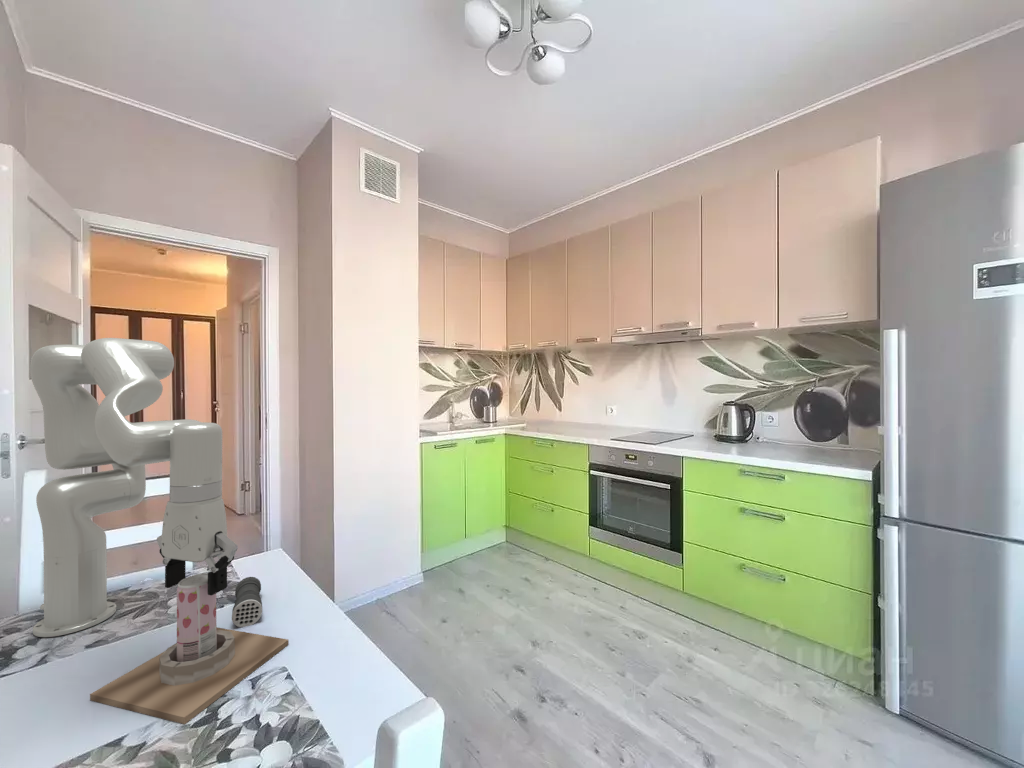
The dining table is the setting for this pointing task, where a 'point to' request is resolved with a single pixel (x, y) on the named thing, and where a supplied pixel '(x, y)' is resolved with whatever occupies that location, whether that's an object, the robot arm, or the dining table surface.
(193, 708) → the socket board
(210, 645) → the beverage can
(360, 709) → the dining table surface
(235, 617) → the flashlight
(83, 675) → the dining table surface
